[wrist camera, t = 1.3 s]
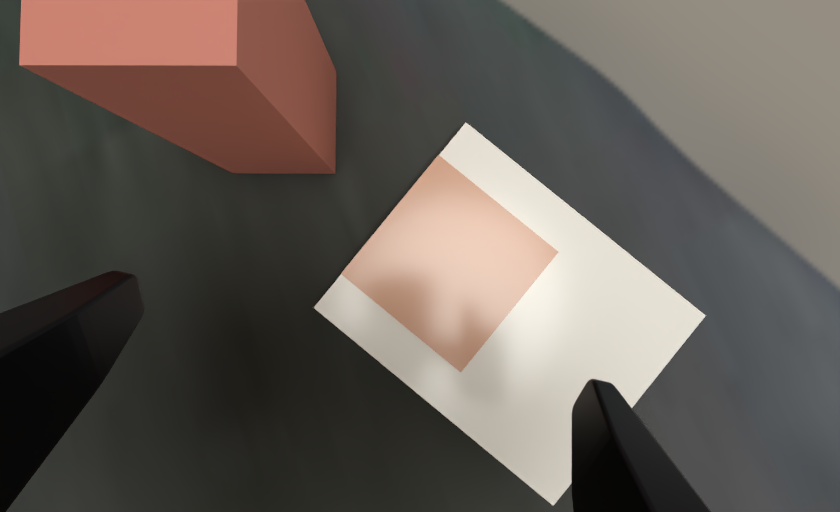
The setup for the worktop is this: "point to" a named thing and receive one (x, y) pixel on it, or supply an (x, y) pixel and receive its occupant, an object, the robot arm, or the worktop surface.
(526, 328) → the board
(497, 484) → the worktop surface
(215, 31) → the block
